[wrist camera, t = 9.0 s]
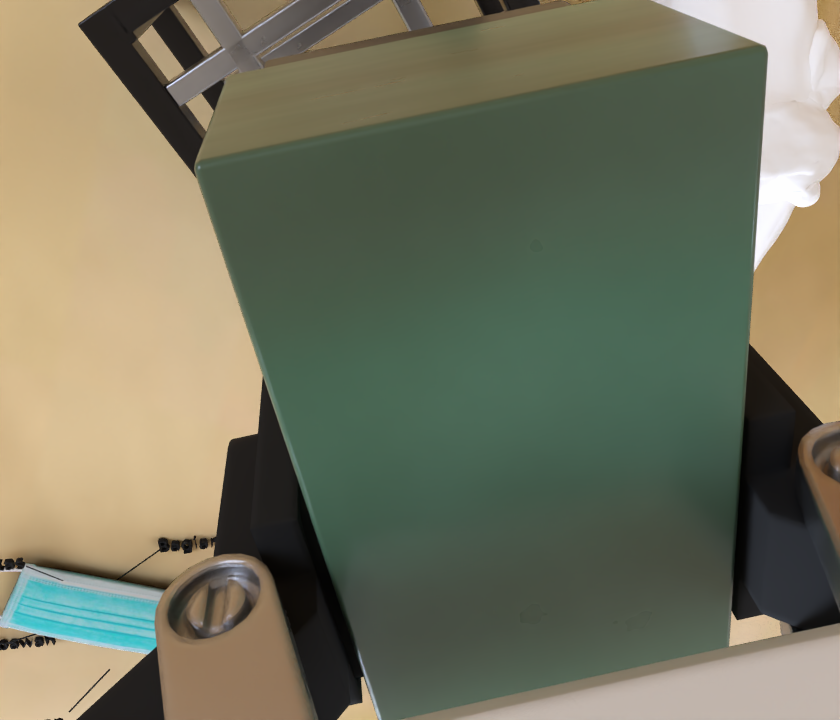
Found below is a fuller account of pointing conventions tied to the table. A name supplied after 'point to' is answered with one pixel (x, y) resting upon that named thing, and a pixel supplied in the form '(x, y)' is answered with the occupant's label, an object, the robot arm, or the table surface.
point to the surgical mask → (84, 607)
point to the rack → (222, 49)
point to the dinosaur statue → (785, 100)
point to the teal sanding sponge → (506, 332)
